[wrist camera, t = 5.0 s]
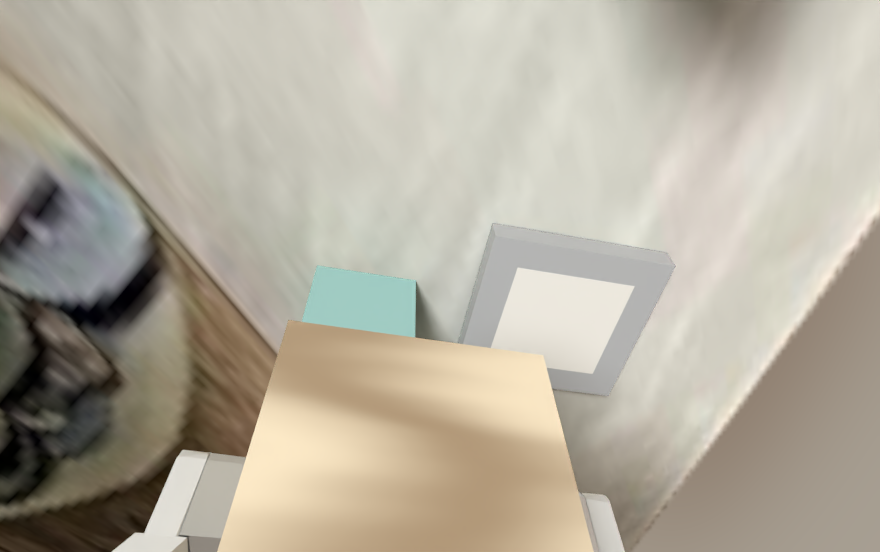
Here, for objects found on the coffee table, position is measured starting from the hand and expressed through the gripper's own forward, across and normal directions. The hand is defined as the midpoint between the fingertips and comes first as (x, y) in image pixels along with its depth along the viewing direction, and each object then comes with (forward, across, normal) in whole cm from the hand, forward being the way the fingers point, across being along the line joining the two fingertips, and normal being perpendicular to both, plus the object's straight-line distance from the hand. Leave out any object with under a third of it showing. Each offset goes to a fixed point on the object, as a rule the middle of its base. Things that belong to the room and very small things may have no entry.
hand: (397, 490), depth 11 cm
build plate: (+17, -9, +7) cm, 21 cm away
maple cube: (+2, 0, 0) cm, 2 cm away
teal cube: (+17, +1, +9) cm, 20 cm away
